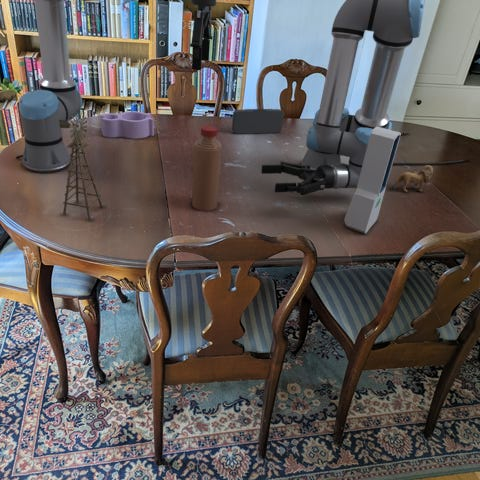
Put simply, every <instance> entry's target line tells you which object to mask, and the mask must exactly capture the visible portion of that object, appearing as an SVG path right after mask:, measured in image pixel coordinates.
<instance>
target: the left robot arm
mask: <svg viewBox="0 0 480 480" xmlns="http://www.w3.org/2000/svg"><path fill="white" fill-rule="evenodd" d="M190 3H191V4H192V5H193V6H197V9H195V10H194V15H193V16H194V17H193V18H194V19H193V26H192V36H191V41H190V42H191V43H189V47H190V48H192V52H191V53H192V56H191V70H194V71H202V61H204V62H210V52H211V51H210V50H211V49H210V48H211V41H212V40H213V38H214V36H213V33H212V7H215V6H216V5H217V0H190ZM34 9H35V17H36V25H37V35H38V41H39V50H40V51H39V52H40V58H41V67H42V78H41V80H39V82H38V85H39V89H37V90H36V89H35V90H33V91H28V92H25V93H24V94H22V95H21V96H20V98H19V100H18V105H19V106H18V111H19V114H20V119H21V126H22V132H23V136H24V148H23V153H22V154H19V155H17V156H15V158H16V159H22V160H21V161H22V166H23V168H24V169H25V170H27V171H29V172H33V173H39V174H46V173H56V172H61V171H63V170H66V169H67V168H69V167H70V160H71V157H70V153H69V151H68V150H67V149H68V148H67V147H66V145H65V143H64V140H63V132H62V128H60V124H59V119H60V120H63V121H66V122H70V120H73V118H72V115H73V117H74V118H75V114H76V116H77V111H78V114H79V109H80V111H82V107H83V98H82V93H81V92H80V91H79V90H78V88H77V84H76V81H75V80H74V79H72V77H71V69H70V67H71V66H70V55H69V44H68V43H69V42H68V33H67V22H66V20H67V19H66V10H65V0H34ZM74 111H75V114H74Z"/></svg>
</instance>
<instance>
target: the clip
mask: <svg viewBox="0 0 480 480" xmlns="http://www.w3.org/2000/svg"><path fill="white" fill-rule="evenodd" d="M100 122H101V133H102V136H103V137H104V138H105V137H106V138H118V137H119V138H120V137H121V138H126V139H133V140H134V139H136V140H137V139H144V138H147V137H154V136H155V119H154V118H153V117H152V113H151V112H147V113H146V112H142V111H134V110H133V111H132V110H131V111H123V112H119V113H114V112H113V113H112V112H111V113H109V112H107V113H103V114H101V115H100Z"/></svg>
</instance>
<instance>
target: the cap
mask: <svg viewBox="0 0 480 480" xmlns="http://www.w3.org/2000/svg"><path fill="white" fill-rule="evenodd" d="M217 134H218V128H217V127H216V126H215V125H203V126H201V128H200V135H201V136H202V137H203V136H205V137H214V138H216V137H217Z"/></svg>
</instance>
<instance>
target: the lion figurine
mask: <svg viewBox="0 0 480 480" xmlns="http://www.w3.org/2000/svg"><path fill="white" fill-rule="evenodd" d="M421 168H422V169H420V170H419V172H415V173H413V172H409V171H404V172H402V173H401V174H400V175H399V177H398V178H397V180H396V181H395V182H394V185H393V188H392V190H396V189H397V188H398V184H400V183H403V184H402V189H403V192H405V193H408V189H406V187H407V186H408V185H409V184H410V183H411V184H413V188H414V189H418V192H421V193H422V192H423V190H422V188H423V187H424V184H425V183H427V182H429V181H430V179H431V177H432V175H433V173H434V168H433V166H432V165H423V166H422V167H421ZM418 184H419V186H418Z"/></svg>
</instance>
